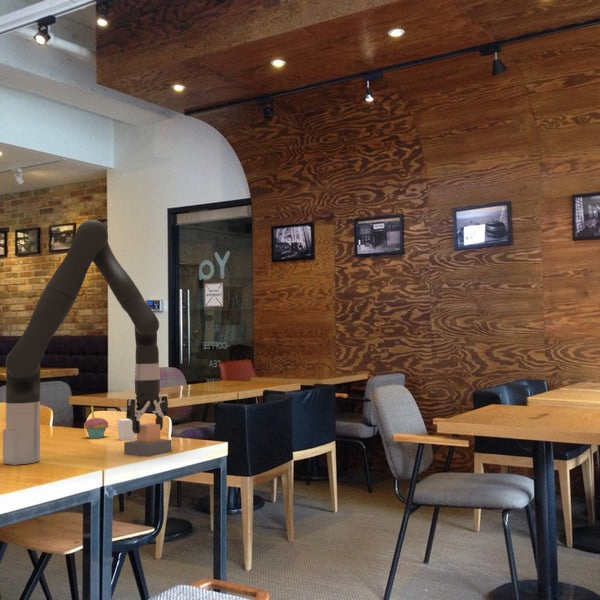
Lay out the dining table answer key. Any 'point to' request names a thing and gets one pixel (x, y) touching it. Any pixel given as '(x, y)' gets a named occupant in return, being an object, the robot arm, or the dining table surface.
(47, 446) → the dining table surface
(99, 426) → the cupcake
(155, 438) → the terracotta cube
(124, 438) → the light grey piece
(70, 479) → the dining table surface
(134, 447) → the charcoal block
